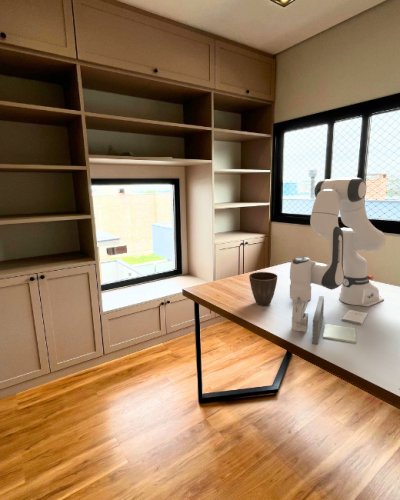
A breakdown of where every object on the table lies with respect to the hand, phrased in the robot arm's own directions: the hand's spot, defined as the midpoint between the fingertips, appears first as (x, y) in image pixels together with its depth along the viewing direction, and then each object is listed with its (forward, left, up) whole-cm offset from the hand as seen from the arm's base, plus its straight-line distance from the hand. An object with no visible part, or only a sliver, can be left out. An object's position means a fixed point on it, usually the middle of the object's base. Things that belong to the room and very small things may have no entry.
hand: (300, 323), depth 129 cm
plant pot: (0, -31, -2) cm, 31 cm away
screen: (-7, +4, -2) cm, 8 cm away
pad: (-11, +11, -2) cm, 16 cm away
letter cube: (0, 0, -2) cm, 2 cm away
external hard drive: (-29, +2, -3) cm, 29 cm away
